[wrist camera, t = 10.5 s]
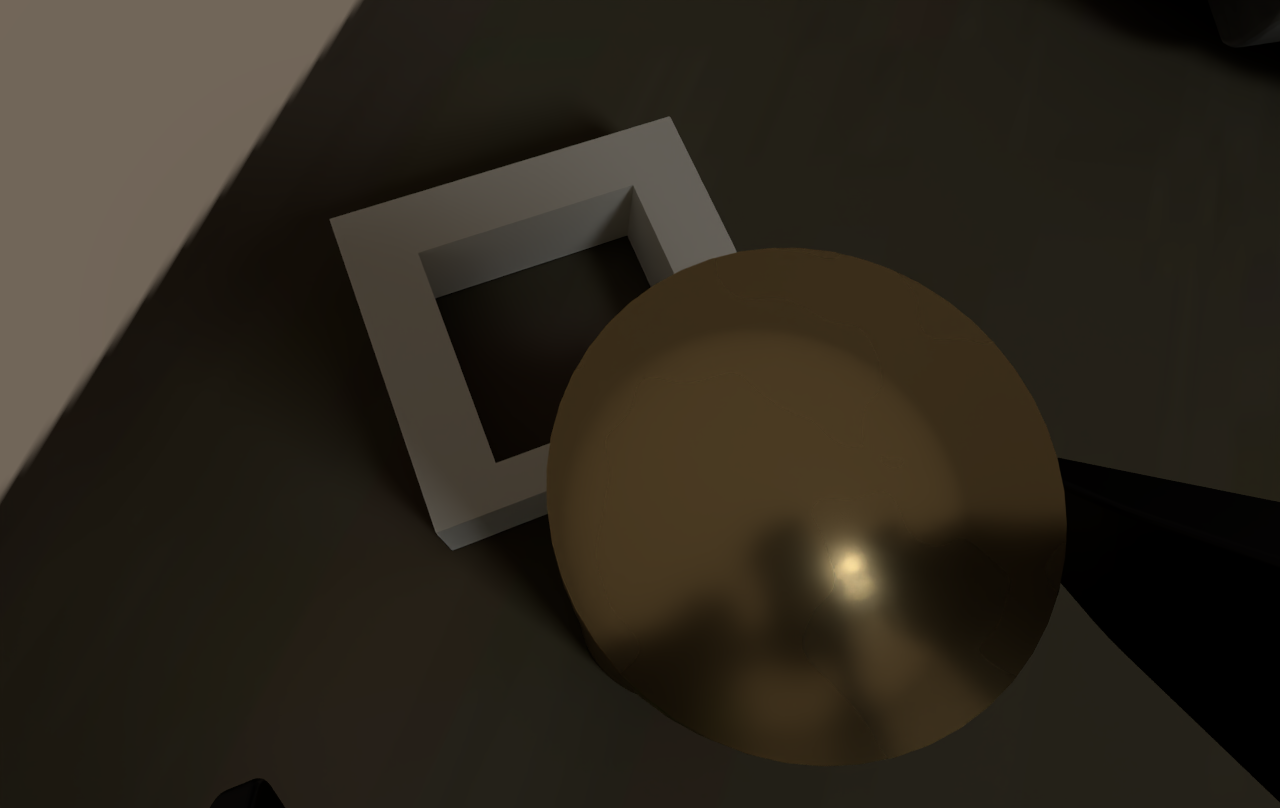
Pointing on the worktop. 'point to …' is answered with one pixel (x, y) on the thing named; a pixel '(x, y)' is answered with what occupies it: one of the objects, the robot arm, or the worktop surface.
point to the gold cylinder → (805, 507)
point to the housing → (491, 248)
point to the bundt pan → (1247, 21)
